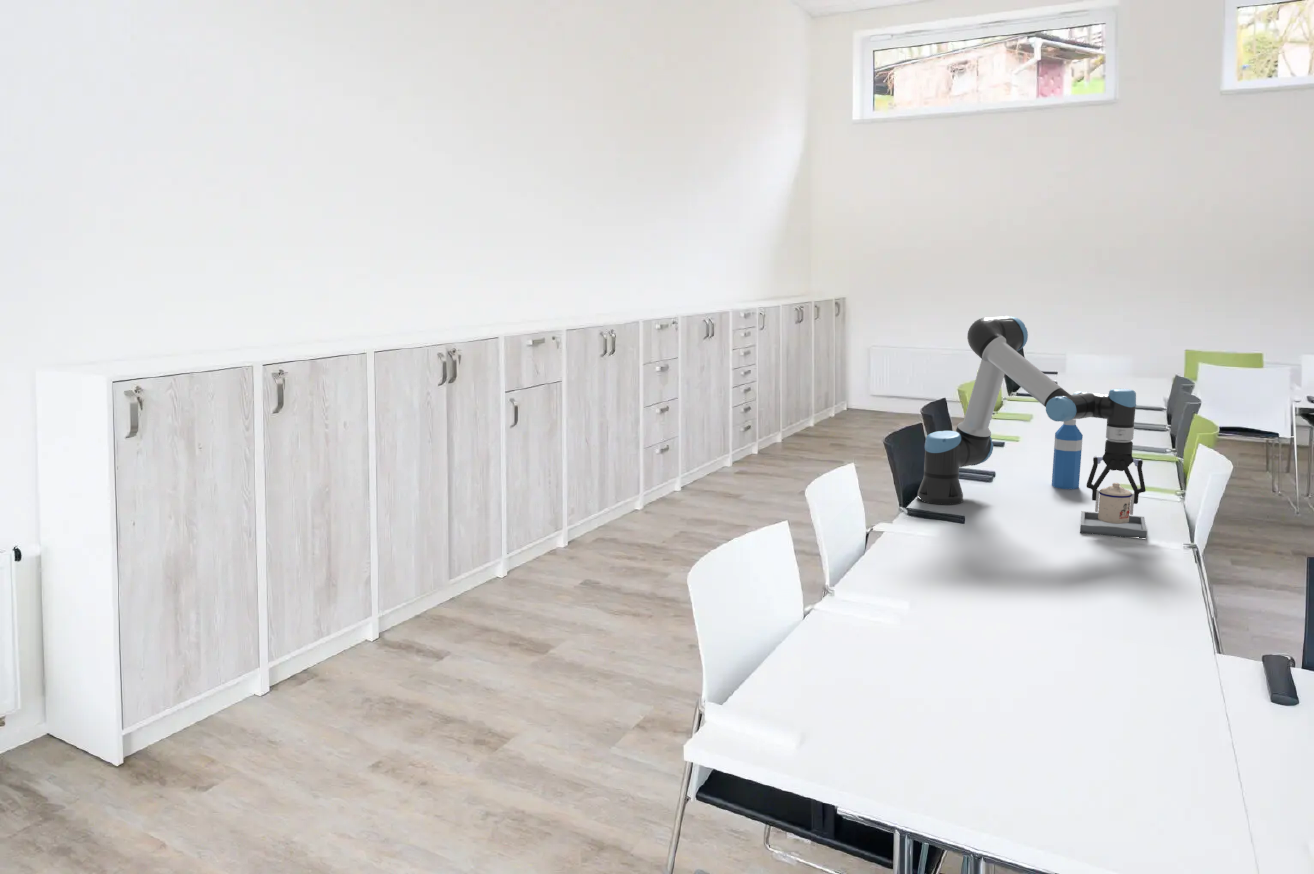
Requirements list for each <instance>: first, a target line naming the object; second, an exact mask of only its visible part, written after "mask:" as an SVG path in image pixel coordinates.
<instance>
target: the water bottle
mask: <svg viewBox="0 0 1314 874" xmlns="http://www.w3.org/2000/svg"><path fill="white" fill-rule="evenodd" d="M1053 445H1054V446H1053V458H1052V459H1053V461H1052V462H1053V463H1052V476H1051V486H1052V487H1053V488H1056V489H1061V490H1076V489H1079V487H1080V477H1081V476H1080V475H1081V466H1082V465H1081V464H1082V451H1083V450H1082V449H1083V434H1082V432H1081V431H1080V428H1078V426H1077V419H1074V420H1069V421H1064V422H1063V423H1062V424H1061V426H1060V427H1059V428H1058V429H1057V430H1056V431H1055V433H1054V444H1053Z"/></svg>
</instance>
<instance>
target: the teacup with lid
mask: <svg viewBox="0 0 1314 874" xmlns="http://www.w3.org/2000/svg"><path fill="white" fill-rule="evenodd" d="M1131 492H1132V491H1130V490H1128V489H1125V488H1124V487H1122V486H1121V484H1120V483H1119V482H1112V485H1109V486H1107V487H1104V488H1101V489H1099V503H1098V512H1097V513H1098V519H1099V520H1100V521H1103V522H1107V523H1114V524H1124V523H1127V522H1129V515H1130V504H1131V496H1132V493H1131Z"/></svg>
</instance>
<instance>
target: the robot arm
mask: <svg viewBox="0 0 1314 874" xmlns="http://www.w3.org/2000/svg"><path fill="white" fill-rule="evenodd" d="M1028 337H1029V333H1028V328H1027V327H1026V325H1025V322H1023V321H1022V319H1020V318H1018V317H1015V316H1009V315H1003V316H993V317H992V316H991V317H990V316H989V317H987V316H986V317H982V318H978V319H976V320H974V322H973V323H972V324H971V325H970V327H969V328H968V330H967V342H968V346H969V347H970V349H971V350H972V352H974V354H975V355H976V356H978V358H979V359H981V360H980V364H979V368H978V371H977V374H976V377H975V381H974V384H973V388H972V391H971V394H970V398H969V400H968V404H967V408H966V411H965V414H964V419H963V421H960V422H959V423H957V425H956V429H955V430H938V431H934V432H931V433H929V434H927V436H926V437H925V441H924V442H925V443H924V446H923V447H924V460H923V461H924V462H923V477H922V478H923V479H922V481H921V483H920V485H919V488H918V490H917V497H918V496H919V497H920V498H921V500H923V501H925V502H924V503H926V502H929V503H928V504H933V505H945V504H948V505H957V504H961V503H963V501H964V492H963V490H962V486H961V483H960V468H963V467H969V466H978V465H979V464H983V463H986V461H988V459H989V458H990V457H991V456H992V454H993V451H994V442H993V439H992V431H991V430H990V429H989V426H990V423H991V420H992V417H993V412H994V411H995V407H996V404H997V401H998V397H999V395H1000V391H1001V388H1002V384H1003V381H1004V379H1005V375H1006V376H1007V377H1008V378H1009V379H1011V380H1012V381H1013V382H1015V384H1017V385H1018V386H1019V387H1021V388H1022V389H1023V390H1024V391H1025V392H1027V393H1028V394H1029V395H1030V396H1031V397H1033V398H1034V399H1035V400H1036V401H1037V402H1039V404H1041V405H1042V406H1044V408H1045V413H1046V414H1047V417H1048V418H1049V419H1050V420H1052V421H1054V422H1061V423H1062V422H1063V423H1064V421H1069V420H1074V419H1076V420H1080V419H1087V418H1096V419H1103V420H1106V429H1105V430H1106V431H1105V439H1106V440H1105V444H1104V454H1103V455H1102V456H1097V455H1095V456H1093V458H1092V461H1093V464H1092V467H1091V470H1090V473H1089V476H1088V479H1087V482H1086V488H1087V489H1090V490H1091V491H1092V492H1091V493H1092V494H1091V500H1092V501H1095V508H1094V509H1095V510H1094V512H1097V513H1098V511H1099V498H1100V493H1099V491H1100V489H1099V487H1100V485H1101V484H1102V482H1103V481H1104V480H1105V478H1106V477H1107V475H1108V473H1109V472H1110V471H1119V472H1123V471H1124V473H1125V476H1126V477H1127V480H1128V482H1129V484H1130V486H1131V488H1132V490H1133V491H1130V492H1131V493H1132V496H1131V502H1130V514H1129V515H1130V516H1134V505H1138V503H1139V495H1140V494H1141V493H1145V492H1147V491H1146V485H1145V484H1146V483H1145V479H1144V474H1143V463H1144V461H1143V459H1142V458H1139V459H1137V458H1134V457H1133V446H1134V445H1133V440H1134V433H1135V418H1136V417H1135V416H1136V407H1137V393H1136V391H1135V390H1133V389H1129V388H1111V389H1110V390H1109V391H1108V394H1105V393H1099V392H1098V393H1097V392H1089V391H1074V393H1073V394H1071V393H1069V392H1067V390H1066V389H1063V387H1061V386H1060V385H1059V384H1058V383H1056V382H1055V381H1054V380H1053V379H1051V378H1050V377H1049V376H1047V375H1046V374H1045V373H1044V372H1043V371H1041V370H1040V369H1039V368H1038V367H1036V366H1035V365H1034V364H1033V363H1031V362H1030V361H1029V360H1028V359H1027V358H1026V357H1024V356H1023V355H1022V354H1020V353H1019V351H1020V350H1021V349H1023V348H1024V347H1025V346H1026V344H1027V342H1028V339H1029V338H1028ZM1102 461H1103V462H1104V464H1105V465H1106V466H1105V467H1104V469H1103V470H1102V472H1101V474H1099V476H1098V478H1097V479H1096V481H1095V483H1094V484H1092V483H1093V482H1094V481H1093V480H1094V478H1095V475H1096V473H1097V469H1098V465H1100V464H1101V462H1102ZM1132 463H1134V466H1135V467H1136V471H1137V475H1138V481H1139V485H1140V487H1138V485H1137V484H1136V481H1135V479H1134V477H1133V475H1132V473H1131V470H1130V469H1129V467H1130V466H1131V465H1132ZM923 501H922V502H923Z"/></svg>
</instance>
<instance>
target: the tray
mask: <svg viewBox="0 0 1314 874" xmlns="http://www.w3.org/2000/svg"><path fill="white" fill-rule="evenodd" d="M1079 526H1080V528H1079V533H1080V534H1086V535H1087V534H1088V535H1094V536H1095V535H1096V536H1104V537H1105V536H1106V537H1117V538H1125V537H1139V538H1146V539H1147V533H1148V530H1147V525H1146V520H1145V516H1138V515H1130V514H1129V522H1127V523H1124V524H1114V523H1107V522H1103V521H1100V520H1099V519H1098V512H1095V511H1093V512H1092V511H1084V510H1083V511H1082V510H1081V513H1080V525H1079ZM1120 536H1121V537H1120Z"/></svg>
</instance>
